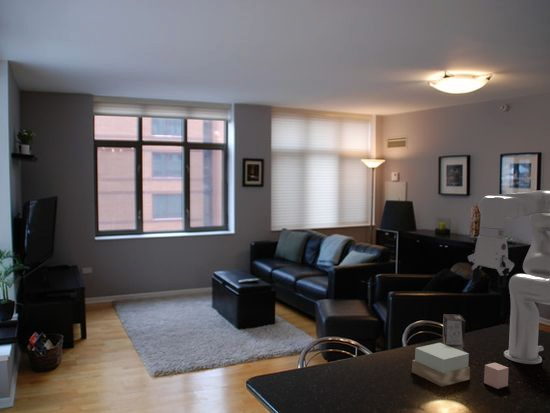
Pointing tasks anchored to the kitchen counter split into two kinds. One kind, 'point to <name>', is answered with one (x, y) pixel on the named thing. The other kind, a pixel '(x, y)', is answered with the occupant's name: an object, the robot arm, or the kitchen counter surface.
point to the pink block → (496, 375)
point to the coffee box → (454, 331)
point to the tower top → (441, 357)
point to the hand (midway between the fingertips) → (488, 284)
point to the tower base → (440, 374)
